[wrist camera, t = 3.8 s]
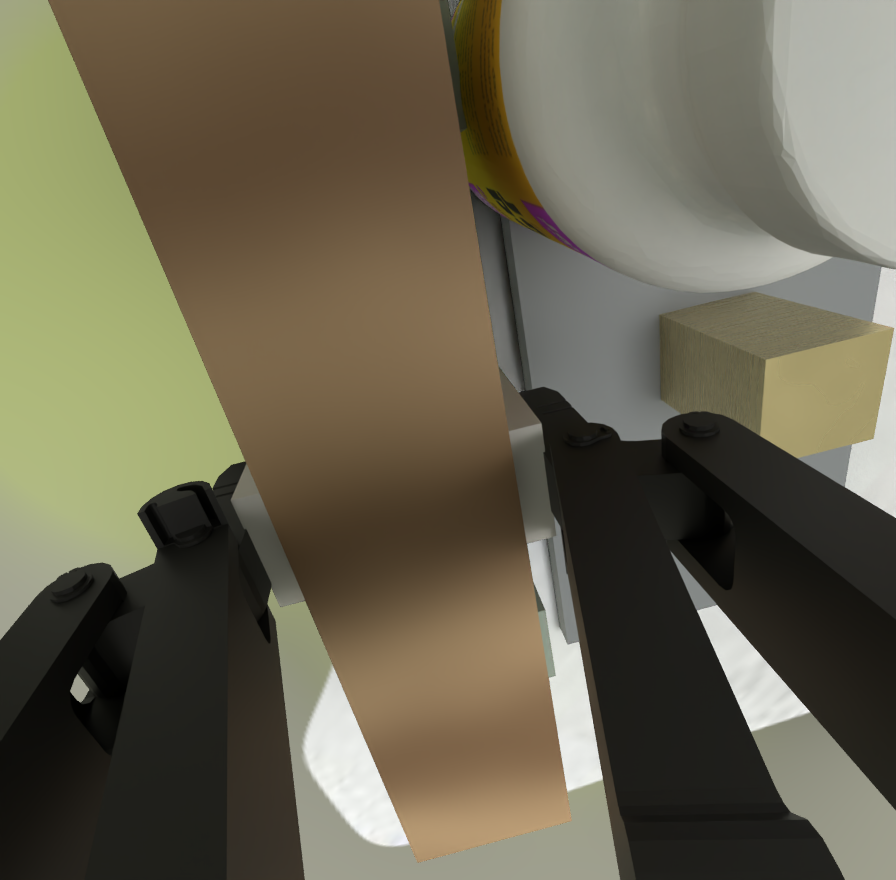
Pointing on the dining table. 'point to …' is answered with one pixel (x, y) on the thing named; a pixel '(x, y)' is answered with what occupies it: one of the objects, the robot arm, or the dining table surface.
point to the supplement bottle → (686, 131)
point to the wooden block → (777, 369)
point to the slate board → (635, 349)
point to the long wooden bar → (350, 364)
